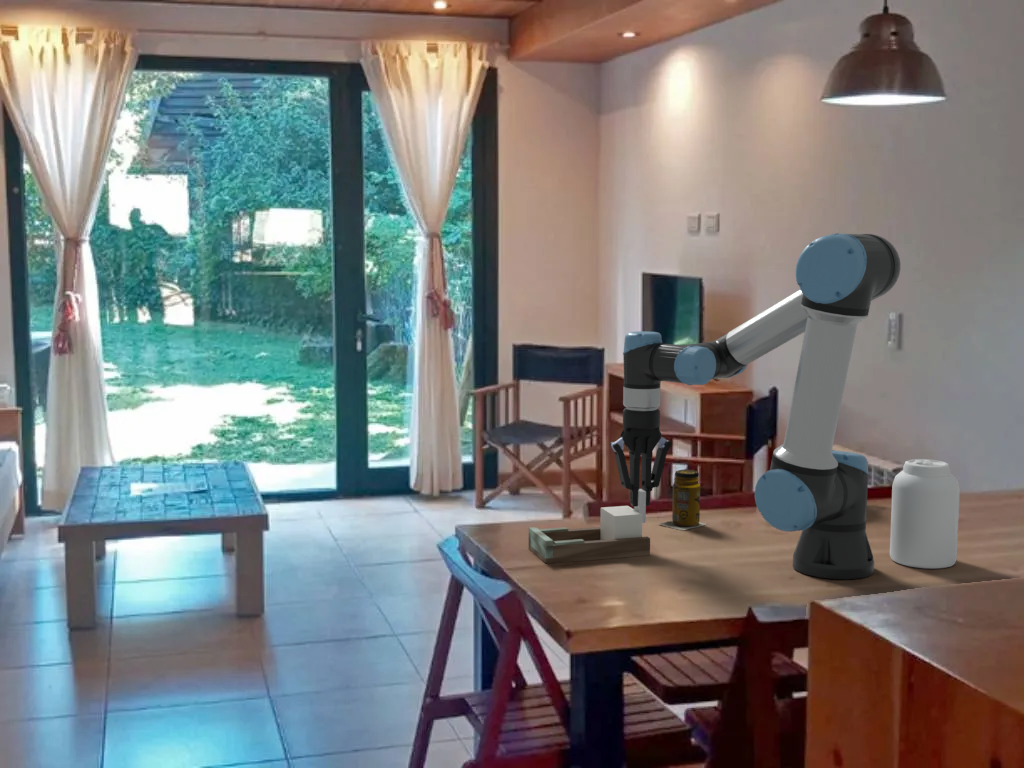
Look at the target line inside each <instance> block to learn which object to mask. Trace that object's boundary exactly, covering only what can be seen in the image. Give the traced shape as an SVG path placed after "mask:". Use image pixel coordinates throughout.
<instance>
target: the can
mask: <svg viewBox="0 0 1024 768" xmlns="http://www.w3.org/2000/svg"><path fill="white" fill-rule="evenodd" d="M902 467H903V469H902V470H901V471H900V472H898V473H897V474H896V475H895V477H894V479H893V481H892V484H891V485H892V487H891V488H892V489H891V509H890V510H891V511H890V512H891V514H890V515H891V516H890V536H889V537H890V541H889V557H890V558H891V560H892V561H894V562H895V563H897V564H899V565H903V566H905V567H906V566H907V567H911V568H915V569H924V570H925V569H927V570H928V569H932V570H935V569H946V568H949V567H952V566H955V564H956V561H957V560H958V559H957V556H958V540H959V539H958V537H959V536H958V534H959V517H960V516H959V512H960V495H961V494H960V493H961V492H960V490H961V488H960V484H959V480H958V479H957V477H955V476H954V475H953V474H952V473H951V467H950V465H949V463H948V462H945V461H942V460H938V459H937V460H936V459H930V458H929V459H928V458H917V459H915V458H913V459H908V460H906V461H905V462H904V464H903V465H902Z"/></svg>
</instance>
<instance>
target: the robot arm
mask: <svg viewBox="0 0 1024 768" xmlns="http://www.w3.org/2000/svg"><path fill="white" fill-rule="evenodd" d="M795 266H796V267H795V278H796V279H795V280H796V284H797V285H798V286H799V289H798V290H797V291H795V292H794V293H792V294H790V295H788V296H787V297H784V298H783V299H781V300H780V301H779V302H776V303H775V304H773V305H772V306H770V307H769V308H767V309H765V310H763V311H761V312H760V313H758V314H757V315H755V316H753V317H752V318H750V319H749V320H747V321H745V322H744V323H741V324H740V325H738V326H737V327H735V328H733V329H731V330H730V331H729V332H727V333H725V334H724V335H722V336H721V337H719V338H717V339H716V340H713V341H708V342H700V343H690V344H672V343H671V344H670V343H664V342H663V340H662V334H661V333H660V332H657V331H648V330H647V331H631V332H627V333H626V334H625V337H624V344H623V345H624V347H623V352H622V356H623V387H622V388H623V390H622V392H623V395H622V396H623V397H622V405H623V406H624V409H623V410H622V432H621V434H620V438H618V439H617V440H616V441H611V442H610V443H609V446H610V448H611V449H612V451H613V453H614V457H615V461H616V467H617V471H618V475H619V480H620V484H621V485H620V486H621V487H623V488H624V489H627V490H629V492H630V493H629V503H630V506H632V507H633V509H634V510H636V511H638V512H639V513H641V514H642V524H644V523H646V517H647V516H646V514H647V513H646V511H647V510H646V509H647V507H648V506H650V503H651V492H652V491H653V489H654V488H658V487H659V485H660V483H661V479H662V476H663V475H662V474H663V471H664V467H665V462H666V458H667V454H668V452H669V450H670V448H671V447H672V445H673V442H672V441H671V440H668V439H666V438H664V437H663V436H662V432H661V429H660V426H661V410H660V409H659V408H660V406H661V382H670V383H677V384H684V385H687V386H693V385H696V386H697V385H698V386H699V385H700V386H703V385H707V384H708V383H709V382H710V381H711V380H714V379H715V380H716V379H722V378H723V379H725V378H727V379H729V378H732V377H734V376H737V375H740V374H741V373H743V372H744V371H745V370H746V368H747V367H748V365H749V364H751V363H753V362H754V361H757V360H758V359H759V358H761V357H764V356H765V355H767V354H769V353H771V352H772V351H774V350H775V349H778V348H779V347H781V346H782V345H784V344H786V343H788V342H789V341H791V340H793V339H795V338H797V337H799V336H800V335H802V334H804V335H803V340H802V346H801V351H800V355H799V360H798V361H799V362H798V366H797V372H796V376H795V381H794V387H793V392H792V398H791V403H790V407H789V414H788V418H787V423H786V428H785V435H784V440H783V443H782V444H781V445H779V446H777V447H776V448H775V449H774V450H773V453H772V459H771V464H770V468H769V470H767V471H766V472H764V473H763V474H762V475H761V476H760V477H759V479H758V480H757V482H756V484H755V487H754V488H755V489H754V500H755V501H754V502H755V504H756V508H757V510H758V512H759V513H760V514H761V516H762V518H763V520H764V521H765V522H766V523H768V524H769V525H770V526H771V527H773V528H774V529H776V530H779V531H782V532H786V533H787V532H788V533H789V532H791V533H792V532H796V531H799V532H800V531H801V533H800V536H799V538H798V541H797V544H796V546H795V550H794V552H793V555H792V568H793V569H794V570H796V572H797V571H798V572H799V573H802V574H804V575H807V576H813V577H815V578H822V579H831V580H854V579H862V578H866V577H869V576H871V575H873V574H874V572H875V559H874V556H873V552H872V548H871V545H870V541H869V538H868V535H867V532H866V531H867V513H868V512H867V510H868V509H867V507H868V488H869V487H868V486H869V485H868V484H869V482H868V481H869V475H870V473H869V468H868V466H869V464H868V463H869V462H868V458H867V457H866V456H865V455H863V454H860V453H857V452H850V451H844V450H833V446H834V441H835V437H836V431H837V427H838V426H837V425H838V422H839V416H840V412H841V411H840V410H841V407H842V402H843V396H844V391H845V387H846V382H847V381H846V380H847V378H848V373H849V368H850V367H849V366H850V361H851V357H852V352H853V347H854V343H855V337H856V332H857V327H858V324H859V323H861V322H863V320H865V319H866V318H868V317H869V313H870V307H871V303H872V302H873V300H876V299H878V298H880V297H882V296H884V295H885V294H887V293H888V292H889V291H891V290H892V289H893V288H894V286H895V285H896V283H897V281H898V279H899V278H900V273H901V259H900V255H899V253H898V250H897V249H896V247H894V245H893V244H892V243H891V242H890V241H889V240H888V239H886V238H884V237H882V236H880V235H877V234H871V233H862V234H861V233H859V234H858V233H855V234H854V233H839V232H837V233H832V234H829V235H828V234H827V235H823V236H821V237H818V238H816V239H814V240H813V241H811V242H810V243H809V244H807V245H806V246H805V247H804V249H803V250H802V252H800V255H799V257H798V259H797V262H796V265H795ZM624 445H625V446H624ZM656 446H657V450H656V454H655V458H654V462H653V466H652V461H653V460H652V458H653V452H654V451H653V450H654V449H655V448H656ZM625 447H626V448H627V450H628V455H629V470H628V465H627V462H626V456H625V453H624V448H625ZM640 463H641V464H640ZM640 465H641V467H640ZM640 468H641V470H640ZM640 473H641V476H640ZM640 477H641V478H640ZM640 480H641V481H640ZM640 482H641V483H640ZM640 485H641V486H640ZM640 487H641V488H640ZM646 506H647V507H646Z"/></svg>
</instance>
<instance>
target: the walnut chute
mask: <svg viewBox="0 0 1024 768" xmlns="http://www.w3.org/2000/svg"><path fill="white" fill-rule="evenodd" d="M528 550H530V552H531V553H533V554H534V555H535V556H536V557H538V558H539V560H541V561H543V563H545V564H547V565H548V564H558V563H571V562H583V561H595V560H606V559H607V560H608V559H619V558H633V557H643V556H644V557H646V556H651V537H649V536H642V537H634V538H621V539H608V540H600V526H598V527H584V528H583V527H580V528H572V529H571V528H570V529H569V528H568V527H566V526H565V527H550V528H549V527H548V528H538V527H536V526H529V527H528Z"/></svg>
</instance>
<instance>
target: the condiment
mask: <svg viewBox="0 0 1024 768" xmlns="http://www.w3.org/2000/svg"><path fill="white" fill-rule="evenodd" d="M699 476H700V473H699V472H698V471H696V470H693V469H679V470H676V471H675V472H674V482H673V483H672V512H671V513H672V516H671V517H672V518H671V519H672V520H670V521H669V520H668V521H665V522H660V523H658V525H661V526H663V527H667V528H671V529H673V530H674V529H675V530H678V531H679V530H680V531H686V530H689V529H690V530H691V529H694V528H699V527H702V526H706V525H707V523H705V522H700V516H701V515H700V514H701V513H700V510H701V506H700V505H701V484H700V483H699V481H700V479H699Z"/></svg>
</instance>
